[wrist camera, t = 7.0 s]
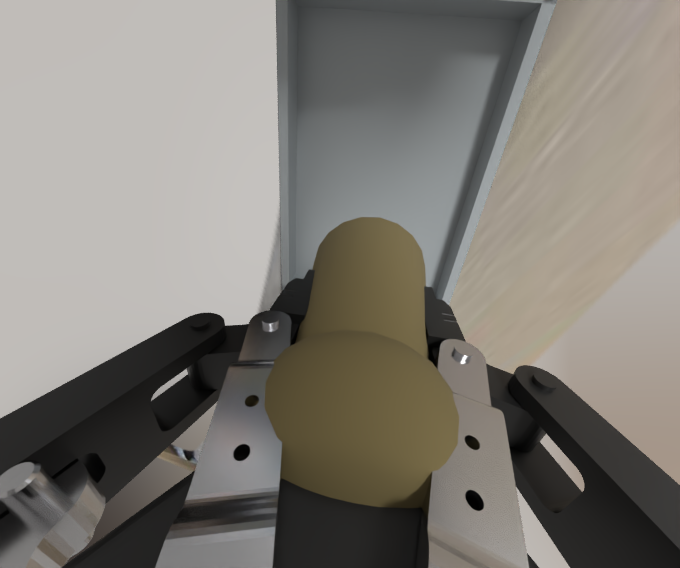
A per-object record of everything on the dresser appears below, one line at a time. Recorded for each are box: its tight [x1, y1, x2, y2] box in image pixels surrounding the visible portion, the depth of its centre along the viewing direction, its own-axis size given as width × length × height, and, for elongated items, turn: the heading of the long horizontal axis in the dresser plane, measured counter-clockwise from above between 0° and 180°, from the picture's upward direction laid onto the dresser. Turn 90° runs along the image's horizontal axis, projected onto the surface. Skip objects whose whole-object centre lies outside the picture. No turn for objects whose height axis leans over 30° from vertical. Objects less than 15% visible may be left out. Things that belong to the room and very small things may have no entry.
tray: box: [276, 0, 557, 305], centre depth 17 cm, size 18×13×2 cm
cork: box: [252, 217, 468, 508], centre depth 9 cm, size 6×6×11 cm
